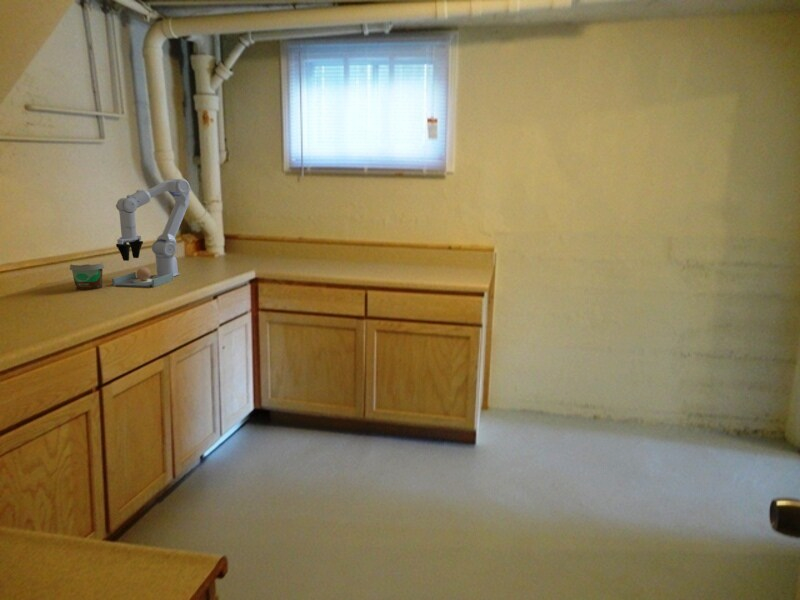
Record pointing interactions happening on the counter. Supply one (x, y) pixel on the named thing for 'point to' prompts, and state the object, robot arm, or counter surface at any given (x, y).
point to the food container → (87, 276)
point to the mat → (137, 283)
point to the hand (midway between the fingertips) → (131, 259)
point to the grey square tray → (132, 275)
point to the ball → (143, 274)
